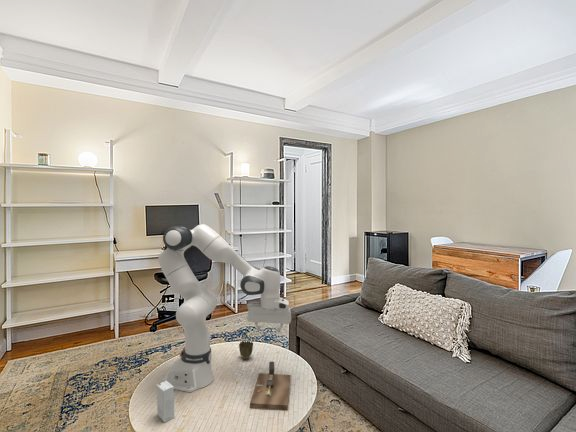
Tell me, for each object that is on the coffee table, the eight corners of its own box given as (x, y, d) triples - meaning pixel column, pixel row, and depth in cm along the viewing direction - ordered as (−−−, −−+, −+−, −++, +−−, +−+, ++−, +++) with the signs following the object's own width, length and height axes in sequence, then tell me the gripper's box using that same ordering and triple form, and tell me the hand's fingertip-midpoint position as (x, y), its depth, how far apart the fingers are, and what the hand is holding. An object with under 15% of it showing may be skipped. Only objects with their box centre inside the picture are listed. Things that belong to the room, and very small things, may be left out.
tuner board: (249, 408, 123) (250, 402, 123) (258, 377, 145) (258, 372, 145) (287, 410, 123) (287, 404, 122) (290, 379, 144) (290, 374, 144)
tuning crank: (272, 396, 128) (272, 381, 128) (264, 395, 128) (265, 381, 128) (275, 374, 144) (275, 361, 144) (268, 374, 144) (268, 361, 144)
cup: (250, 362, 159) (250, 347, 158) (236, 361, 160) (236, 345, 160) (254, 355, 166) (255, 341, 166) (241, 354, 167) (241, 339, 167)
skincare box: (175, 417, 117) (175, 386, 117) (163, 423, 114) (163, 391, 114) (167, 409, 121) (167, 379, 121) (156, 415, 118) (156, 384, 118)
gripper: (246, 303, 140) (245, 333, 141) (291, 305, 140) (290, 335, 140) (248, 298, 146) (247, 327, 147) (291, 301, 146) (290, 329, 147)
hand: (268, 331), depth 144 cm, fingers open, 8 cm apart
